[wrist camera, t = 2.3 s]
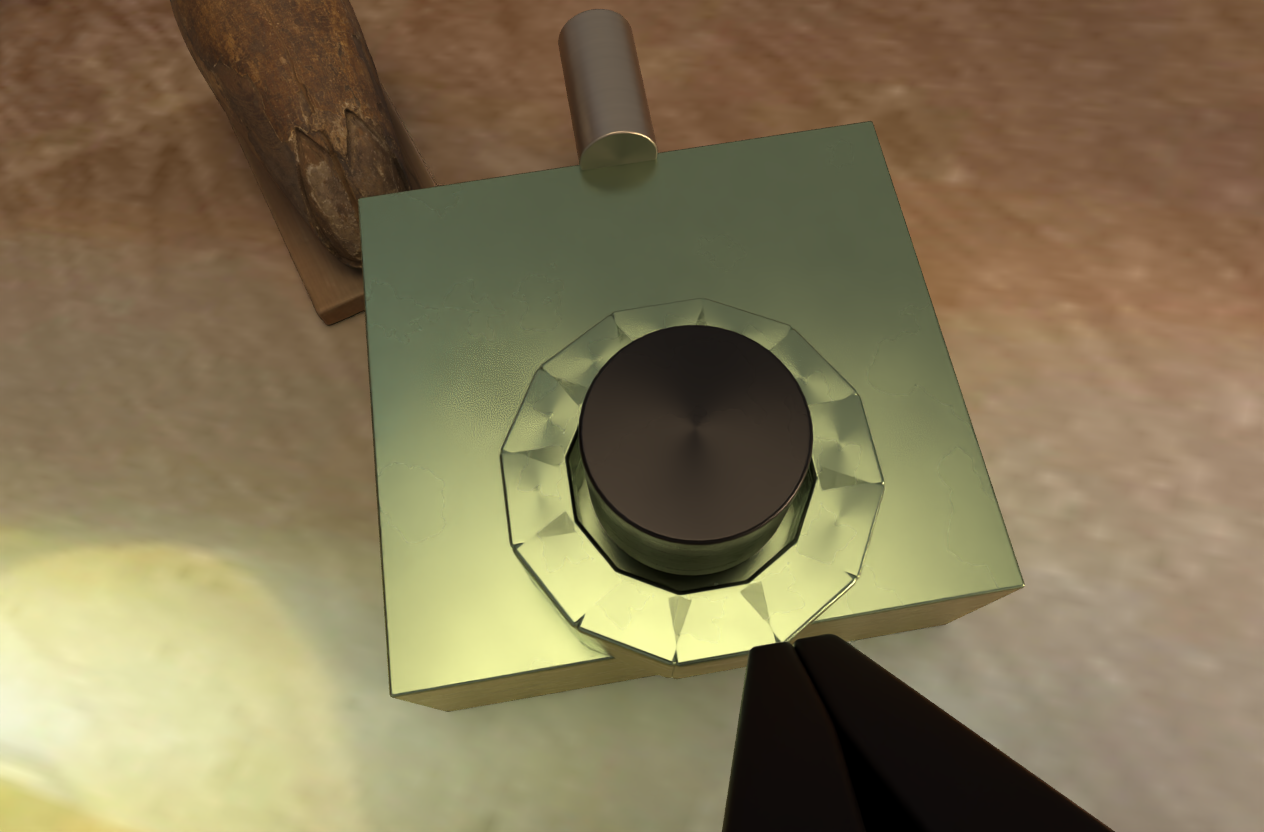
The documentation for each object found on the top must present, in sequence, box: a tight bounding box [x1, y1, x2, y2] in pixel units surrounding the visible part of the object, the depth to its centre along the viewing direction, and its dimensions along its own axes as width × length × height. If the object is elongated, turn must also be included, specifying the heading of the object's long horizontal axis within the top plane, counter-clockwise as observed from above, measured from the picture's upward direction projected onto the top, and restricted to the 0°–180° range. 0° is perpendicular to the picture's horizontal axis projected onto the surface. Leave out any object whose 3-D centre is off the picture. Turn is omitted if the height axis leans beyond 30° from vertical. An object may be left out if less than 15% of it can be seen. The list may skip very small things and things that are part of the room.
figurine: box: [170, 0, 436, 325], centre depth 23 cm, size 14×4×9 cm, turn 28°
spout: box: [558, 9, 658, 170], centre depth 21 cm, size 4×2×2 cm, turn 10°
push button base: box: [358, 121, 1024, 712], centre depth 20 cm, size 12×12×7 cm
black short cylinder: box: [578, 325, 813, 575], centre depth 15 cm, size 4×4×2 cm
